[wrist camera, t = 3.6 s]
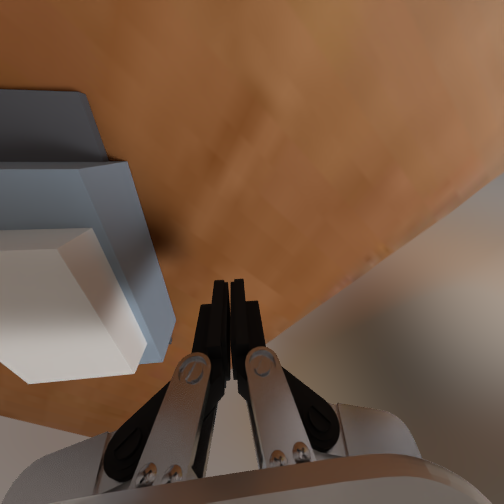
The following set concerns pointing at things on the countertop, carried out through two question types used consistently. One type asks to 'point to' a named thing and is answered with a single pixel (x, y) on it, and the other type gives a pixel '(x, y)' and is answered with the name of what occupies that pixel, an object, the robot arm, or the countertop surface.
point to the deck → (95, 229)
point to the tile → (63, 308)
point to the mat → (48, 128)
